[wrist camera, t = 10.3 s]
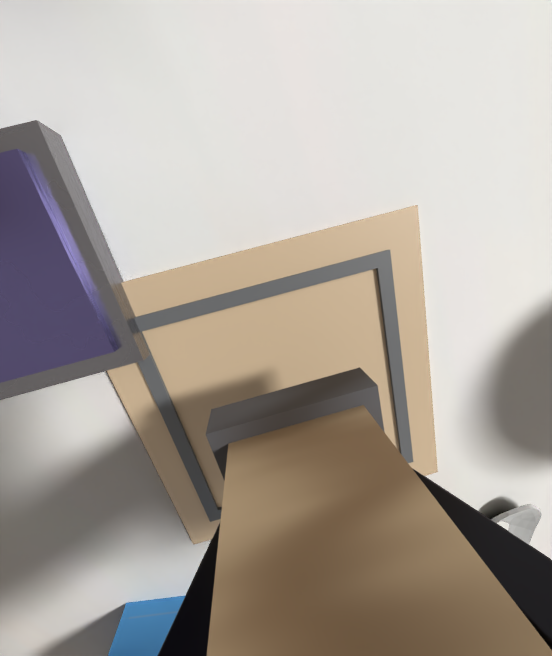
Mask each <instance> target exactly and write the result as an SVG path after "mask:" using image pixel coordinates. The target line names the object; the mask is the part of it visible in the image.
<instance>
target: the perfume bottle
mask: <svg viewBox="0 0 552 656" xmlns="http://www.w3.org/2000/svg"><path fill="white" fill-rule="evenodd" d="M184 598H185V596H179V597H171V598H163V599H154V600H146V601H138V602H129V603H126V606H125V608H124V611H123V614H122V617H121V620H120V623H119V626H118V628H117V631H116V634H115V637H114V640H113V643H112V646H111V649H110V651H109V654H108V656H157V655H158V653H159V651H160V649H161V647H162V645H163V643H164V641H165V638H166V636H167V634H168V632H169V630H170V628H171V626H172V623H173V621H174V619H175V617H176V615H177V613H178V611H179V608H180V606H181V604H182V602H183V600H184Z"/></svg>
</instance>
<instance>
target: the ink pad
mask: <svg viewBox="0 0 552 656" xmlns="http://www.w3.org/2000/svg"><path fill="white" fill-rule="evenodd" d="M122 282H123V280H122V278H121V275H120V273H119V271H118V268H117V266H116V264H115V261H114V259H113V257H112V254H111V252H110V250H109V247H108V245H107V243H106V240H105V238H104V236H103V233H102V231H101V229H100V226H99V224H98V222H97V219H96V217H95V215H94V212H93V210H92V208H91V205H90V203H89V201H88V198H87V196H86V194H85V191H84V189H83V187H82V184H81V182H80V180H79V177H78V175H77V173H76V170H75V168H74V166H73V163H72V161H71V159H70V156H69V154H68V152H67V149H66V147H65V145H64V142H63V140H62V138H61V135H59V134H58V133H56V132H54V131H53V130H51V129H50V128H48V127H47V126H45V125H44V124H42V123H40V122H39V121H37V120H35V121H31V122H27V123H23V124H18V125H14V126H10V127H6V128H2V129H0V400H1V399H4V398H8V397H12V396H15V395H19V394H23V393H26V392H30V391H34V390H37V389H41V388H45V387H48V386H52V385H56V384H59V383H63V382H67V381H70V380H74V379H78V378H81V377H85V376H89V375H92V374H96V373H100V372H103V371H107V370H111V369H114V368H118V367H122V366H125V365H129V364H133V363H136V362H140V361H144V360H145V359H146V358H147V357H148V356H149V355H150V353H149V351H148V349H147V347H146V344H145V342H144V340H143V337H142V335H141V333H140V330H139V328H138V326H137V323H136V321H135V319H134V318H135V317H136V316H135V314H134V312H133V309H132V307H131V305H130V302H129V300H128V298H127V295H126V293H125V291H124V288H123V286H122V284H121V283H122Z"/></svg>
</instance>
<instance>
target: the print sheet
mask: <svg viewBox="0 0 552 656" xmlns="http://www.w3.org/2000/svg"><path fill="white" fill-rule="evenodd" d="M121 284H122V286H123V288H124V291H125V293H126V295H127V298H128V300H129V302H130V305H131V307H132V309H133V312H134V314H135V316H136V317H135V318H134V319H135V321H136V323H137V326H138V328H139V330H140V333H141V335H142V337H143V340H144V342H145V344H146V347H147V349H148V351H149V353H150V355H149V356H148V357H147V358H146V359H145V360H144V361H140V362H136V363H133V364H129V365H125V366H122V367H118V368H114V369H111V370H107V372H108V374H109V376H110V378H111V380H112V382H113V384H114V386H115V388H116V390H117V392H118V394H119V396H120V398H121V400H122V402H123V404H124V406H125V408H126V410H127V412H128V414H129V416H130V418H131V420H132V422H133V424H134V426H135V428H136V430H137V432H138V434H139V436H140V438H141V440H142V442H143V444H144V446H145V448H146V450H147V452H148V454H149V456H150V458H151V460H152V462H153V464H154V466H155V468H156V470H157V472H158V474H159V476H160V478H161V480H162V482H163V484H164V486H165V488H166V490H167V492H168V494H169V496H170V498H171V500H172V502H173V504H174V506H175V508H176V510H177V512H178V514H179V516H180V518H181V520H182V522H183V524H184V526H185V528H186V530H187V532H188V534H189V536H190V538H191V540H192V542H193V544H197V543H201V542H204V541H207V540H211V539H212V538H213V536H214V534H215V532H216V529H217V527H218V525H219V523H220V521H221V511H222V501H223V491H224V482H225V481H224V479H223V476H222V474H221V471H220V469H219V467H218V464H217V462H216V459H215V457H214V454H213V452H212V449H211V447H210V444H209V442H208V439H207V437H206V435H205V434H206V430H207V426H208V421H209V417H210V413H211V409H214V408H217V407H221V406H224V405H228V404H231V403H235V402H238V401H242V400H246V399H249V398H253V397H256V396H260V395H263V394H267V393H270V392H274V391H278V390H281V389H285V388H288V387H292V386H295V385H299V384H302V383H306V382H309V381H313V380H317V379H320V378H324V377H327V376H331V375H334V374H338V373H341V372H345V371H349V370H352V369H356V368H359V367H360V368H361V369H362V370H363V371H364V372H365V373H366V374H367V375H368V376H369V377H370V378H371V379H372V380H373V381H374V382H375V383H376V384H377V385H378V391H379V397H380V404H381V411H382V418H383V425H384V432H385V434H386V435H387V436H388V438H389V439H390V440H391V442H392V443H393V444H394V446H395V447H396V448H397V449H398V451H399V452H400V453H401V455H402V456H403V457H404V459H405V460H406V461H407V463H408V464H409V465H410V466H411V468H413V469H414V470H416V471H418V472H419V473H421V474H422V475H424V476H426V475H429V474H432V473H436V472H438V471H437V457H436V444H435V431H434V417H433V404H432V391H431V377H430V364H429V351H428V337H427V324H426V311H425V297H424V284H423V271H422V257H421V244H420V231H419V217H418V205H415V206H412V207H408V208H404V209H400V210H396V211H393V212H389V213H385V214H381V215H377V216H373V217H370V218H366V219H362V220H358V221H354V222H351V223H347V224H343V225H339V226H335V227H332V228H328V229H324V230H320V231H316V232H312V233H309V234H305V235H301V236H297V237H293V238H290V239H286V240H282V241H278V242H274V243H271V244H267V245H263V246H259V247H255V248H251V249H248V250H244V251H240V252H236V253H232V254H229V255H225V256H221V257H217V258H213V259H209V260H206V261H202V262H198V263H194V264H190V265H187V266H183V267H179V268H175V269H171V270H168V271H164V272H160V273H156V274H152V275H148V276H145V277H141V278H137V279H133V280H129V281H126V282H122V283H121Z"/></svg>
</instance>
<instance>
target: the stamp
mask: <svg viewBox="0 0 552 656" xmlns="http://www.w3.org/2000/svg"><path fill="white" fill-rule="evenodd" d="M205 435H206V437H207V439H208V442H209V444H210V447H211V449H212V452H213V454H214V457H215V459H216V462H217V464H218V467H219V469H220V471H221V474H222V476H223V479H224V481H225V482H224V491H223V501H222V511H221V521H220V530H219V540H218V550H217V560H216V569H215V579H214V589H213V599H212V608H211V618H210V628H209V638H208V647H207V656H552V650H551V649H550V648H549V646H548V645H547V644H546V642H545V641H544V640H543V638H542V637H541V636H540V635H539V633H538V632H537V631H536V629H535V628H534V627H533V625H532V624H531V623H530V621H529V620H528V619H527V618H526V616H525V615H524V614H523V612H522V611H521V610H520V608H519V607H518V606H517V605H516V603H515V602H514V601H513V599H512V598H511V597H510V595H509V594H508V593H507V592H506V590H505V589H504V588H503V586H502V585H501V584H500V582H499V581H498V580H497V578H496V577H495V576H494V575H493V573H492V572H491V571H490V569H489V568H488V567H487V565H486V564H485V563H484V562H483V560H482V559H481V558H480V556H479V555H478V554H477V552H476V551H475V550H474V549H473V547H472V546H471V545H470V543H469V542H468V541H467V539H466V538H465V537H464V535H463V534H462V533H461V532H460V530H459V529H458V528H457V526H456V525H455V524H454V522H453V521H452V520H451V519H450V517H449V516H448V515H447V513H446V512H445V511H444V509H443V508H442V507H441V506H440V504H439V503H438V502H437V500H436V499H435V498H434V496H433V495H432V494H431V492H430V491H429V490H428V489H427V487H426V486H425V485H424V483H423V482H422V481H421V479H420V478H419V477H418V476H417V474H416V473H415V472H414V470H413V469H412V468H411V466H410V465H409V464H408V463H407V461H406V460H405V459H404V457H403V456H402V455H401V453H400V452H399V451H398V449H397V448H396V447H395V446H394V444H393V443H392V442H391V440H390V439H389V438H388V436H387V435H386V434H385V432H384V425H383V418H382V411H381V404H380V397H379V391H378V385H377V384H376V383H375V382H374V381H373V380H372V379H371V378H370V377H369V376H368V375H367V374H366V373H365V372H364V371H363V370H362V369H361V368H360V367H359V368H356V369H352V370H349V371H345V372H341V373H338V374H334V375H331V376H327V377H324V378H320V379H317V380H313V381H309V382H306V383H302V384H299V385H295V386H292V387H288V388H285V389H281V390H278V391H274V392H270V393H267V394H263V395H260V396H256V397H253V398H249V399H246V400H242V401H238V402H235V403H231V404H228V405H224V406H221V407H217V408H214V409H211V413H210V417H209V421H208V426H207V430H206V434H205Z"/></svg>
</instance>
